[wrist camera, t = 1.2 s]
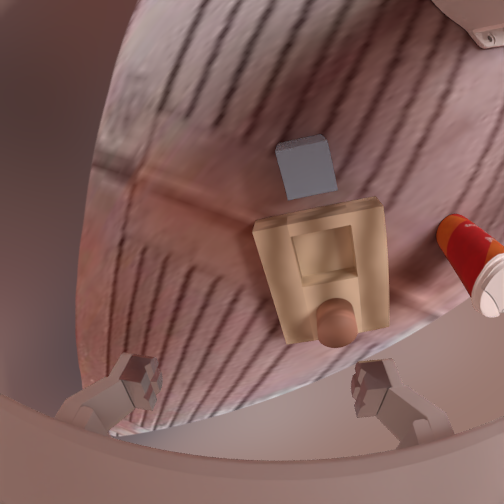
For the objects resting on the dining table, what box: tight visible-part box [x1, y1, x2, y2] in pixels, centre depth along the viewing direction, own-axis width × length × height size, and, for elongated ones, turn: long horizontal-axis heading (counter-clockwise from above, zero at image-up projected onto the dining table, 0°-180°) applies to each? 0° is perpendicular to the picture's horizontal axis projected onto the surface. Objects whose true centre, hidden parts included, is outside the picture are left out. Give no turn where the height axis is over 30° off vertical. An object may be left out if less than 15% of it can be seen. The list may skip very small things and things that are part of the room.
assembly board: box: [252, 196, 389, 348], centre depth 35 cm, size 15×18×8 cm
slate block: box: [275, 134, 338, 200], centre depth 30 cm, size 5×5×6 cm
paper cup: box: [436, 214, 504, 317], centre depth 27 cm, size 8×8×14 cm
